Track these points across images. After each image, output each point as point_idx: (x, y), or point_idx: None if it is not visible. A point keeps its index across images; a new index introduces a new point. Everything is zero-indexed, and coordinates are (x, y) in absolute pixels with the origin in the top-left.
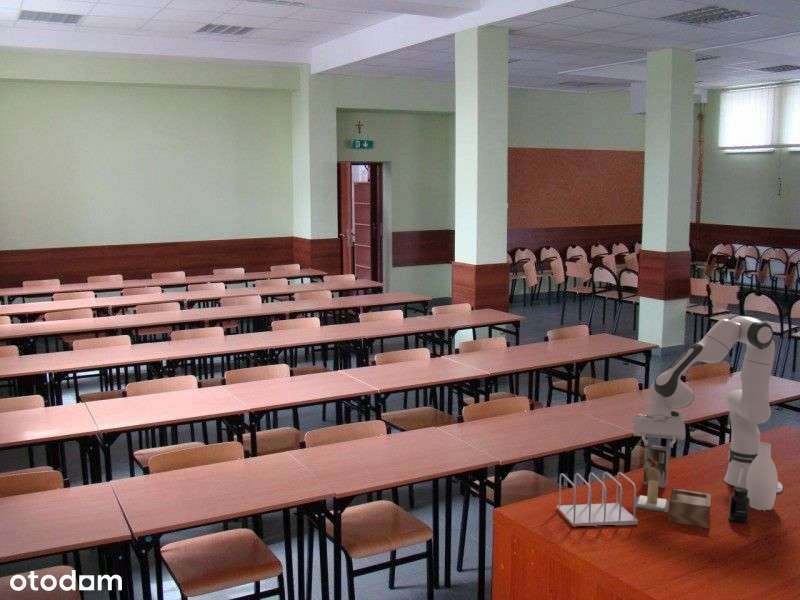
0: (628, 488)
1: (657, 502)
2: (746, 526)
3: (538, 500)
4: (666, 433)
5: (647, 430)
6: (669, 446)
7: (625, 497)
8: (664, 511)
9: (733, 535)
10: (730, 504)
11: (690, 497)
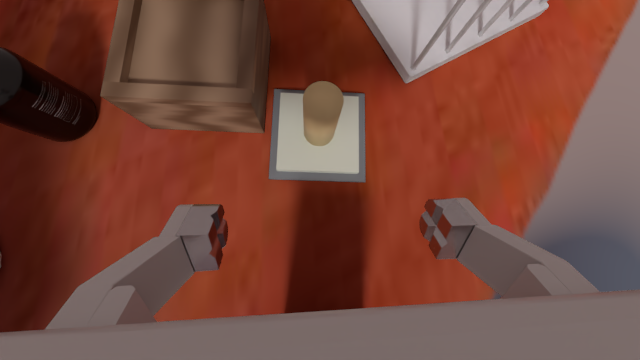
0: (402, 255)
1: (303, 130)
2: None
3: (598, 53)
4: (211, 331)
5: (595, 337)
6: (219, 208)
7: (398, 167)
8: (281, 91)
9: (107, 8)
10: (50, 81)
11: (187, 65)
